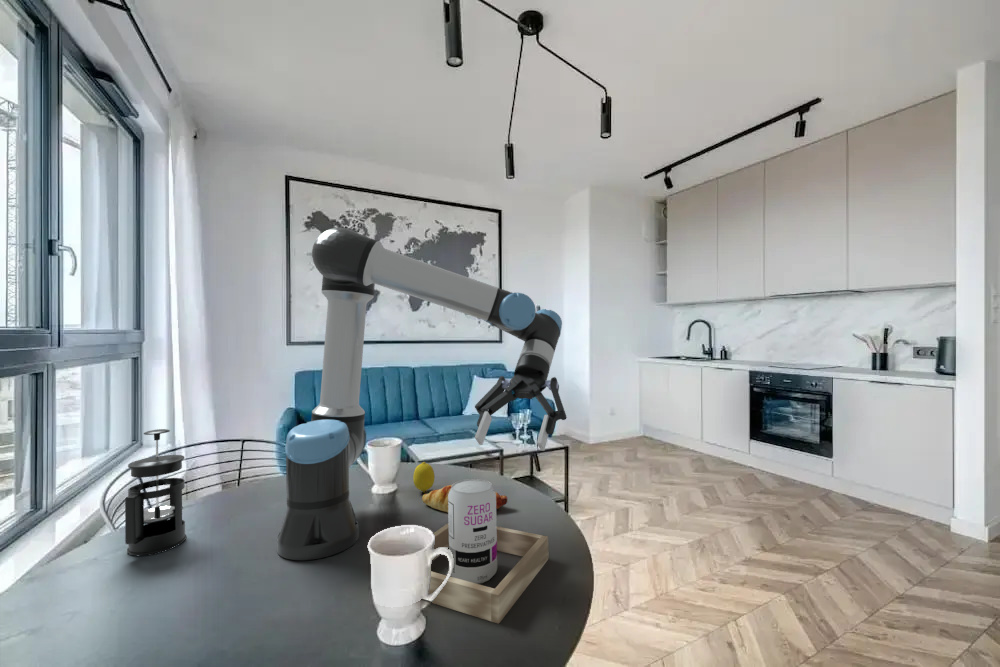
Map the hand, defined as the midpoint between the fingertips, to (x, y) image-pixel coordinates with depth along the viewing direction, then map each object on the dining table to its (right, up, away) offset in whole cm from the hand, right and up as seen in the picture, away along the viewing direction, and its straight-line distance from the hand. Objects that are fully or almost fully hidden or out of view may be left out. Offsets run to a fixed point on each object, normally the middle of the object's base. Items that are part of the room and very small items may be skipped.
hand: (508, 444), depth 87 cm
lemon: (-22, -20, +28) cm, 41 cm away
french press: (-71, -21, 0) cm, 74 cm away
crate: (-6, -19, -12) cm, 23 cm away
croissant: (-10, -20, +18) cm, 29 cm away
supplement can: (-6, -19, -12) cm, 24 cm away
